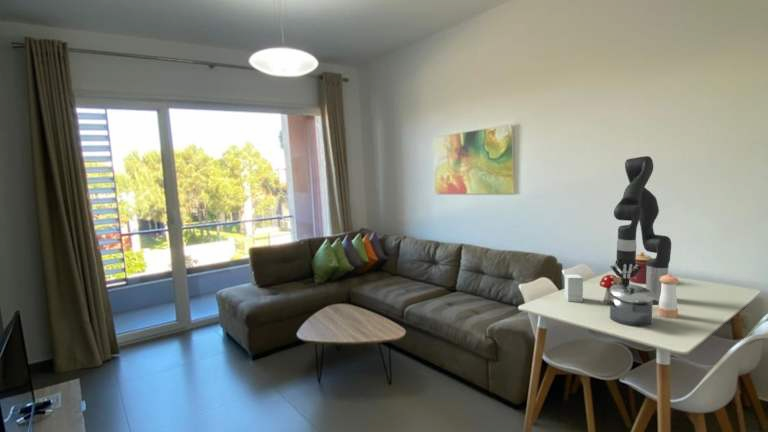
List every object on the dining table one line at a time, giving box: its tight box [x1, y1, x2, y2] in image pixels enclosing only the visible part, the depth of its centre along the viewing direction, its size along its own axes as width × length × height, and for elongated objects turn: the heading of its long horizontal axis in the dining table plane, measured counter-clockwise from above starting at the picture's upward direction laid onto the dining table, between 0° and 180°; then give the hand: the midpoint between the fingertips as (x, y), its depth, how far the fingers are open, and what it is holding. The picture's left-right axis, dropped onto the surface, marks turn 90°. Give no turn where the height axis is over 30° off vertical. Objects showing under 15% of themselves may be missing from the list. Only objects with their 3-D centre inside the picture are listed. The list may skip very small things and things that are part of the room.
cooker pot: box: [603, 295, 659, 328], centre depth 177 cm, size 22×18×10 cm
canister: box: [629, 251, 654, 284], centre depth 238 cm, size 13×13×18 cm
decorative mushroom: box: [599, 274, 617, 307], centre depth 200 cm, size 10×9×15 cm
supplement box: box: [564, 274, 584, 303], centre depth 209 cm, size 7×7×13 cm
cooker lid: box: [610, 276, 654, 304], centre depth 180 cm, size 17×23×3 cm
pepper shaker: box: [657, 273, 679, 319], centre depth 182 cm, size 7×7×19 cm
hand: (624, 285), depth 183 cm, fingers closed
